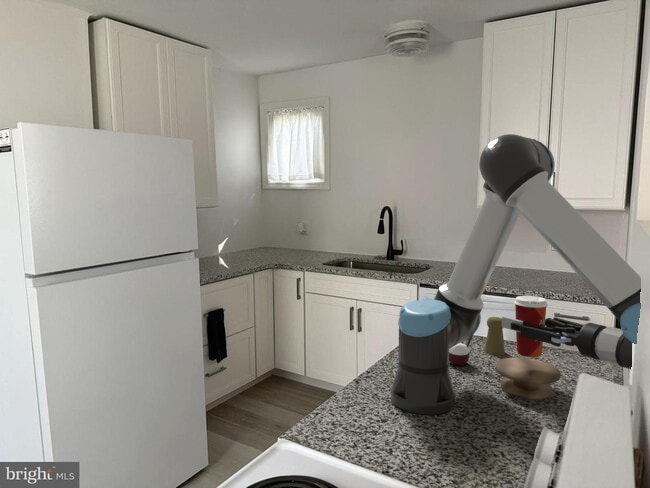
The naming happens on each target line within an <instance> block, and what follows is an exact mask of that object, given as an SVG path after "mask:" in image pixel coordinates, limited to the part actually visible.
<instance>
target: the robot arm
mask: <svg viewBox="0 0 650 488" xmlns="http://www.w3.org/2000/svg"><path fill="white" fill-rule="evenodd" d="M555 163H556V162H555V158H554V155H553V153H552V151H551V150H550V149H549V147H547V145H545V144H544V143H543V142H541V141H539V140H537V139H535V138H531V137H526V136H523V135H519V134H515V133H514V134H511V133H510V134H503V135H500V136H497V137H496V138H494V139H492V140H491V141H489V142H488V143H487V144H486V145H485V147H484V148H483V150H482V152H481V153H480V157H479V173H480V175H481V177H482V179H483V181H484V183H483V186H482V189H483V192H484V195H485V198H484V200H483V202H482V204H481V207H480V209H479V211H478V213H477V216H476V217H475V221H474V223H473V225H472V227H471V230H470V232H469V234H468V236H467V238H466V241H465V243H464V246H463V248H462V250H461V253H460V254H459V257H458V259H457V261H456V263H455V265H454V268H453V271H452V273H451V275H450V277H449V279H448V281H447V283H443V284H440V286H439V287H438V289H437V291H436V294H435V296H434V299H432V298H430V299H429V298H422V299H419V300H417V299H414V300H411V301H409V302H406V303H405V304H404V305H402V306H401V307H400V311H399V316H398V317H399V318H398V323H397V324H398V367H397V370H396V374H395V376H394V379H393V382H392V385H391V386H390V387H391V388H390V400H391V402H392V404H393V405H394V406H395V407H397V408H398V409H400V410H403V411H405V412H409V413H412V414H418V415H430V416H432V415H440V414H445V413H448V412H450V411H452V410H453V409H454V408H455V406H456V391H455V389H454V386H453V385H454V384H453V383H452V378H451V376H450V371H449V363H450V362H449V349H450V348H452V347H453V346H455V345H457V344H459V343H462V342H465V341H468V339H469V338H470V337H471V336H472V335H473V336H474V335H475V333H476V332H477V331H478V330H479V327H480V325H481V320H482V317H481V312H482V309H483V308H484V302H483V299H482V295H483V293H484V291H485V290H486V287H487V284H488V282H489V281H490V278H491V276H492V274H493V272H494V270H495V268H496V265H497V263H498V261H499V260H500V257H501V255H502V254H503V251H504V249H505V247H506V245H507V242H508V240H509V239H510V237H511V235H512V232H513V230H514V228H515V226H516V224H517V222H518V219H519V217H520V215H521V214H522V216H524V218H525V219H526V220H527V221H528V222H529V224H530V225H532V227H533V228H534V229H535V230H536V231H537V232H538V233H539V235H541V237H543V239H544V240H545V241H546V242H547V243H548V244H549V245H550V247H552V248H553V249H554V251H555V252H556V253H557V255H559V256H560V257H561V259H563V261H564V262H565V263H566V264H567V265H568V266H569V267H570V268H571V269H572V271H573V272H574V273H575V274H576V275H577V276H578V277H579V278H580V279H581V280H582V282H584V284H585V285H586V286H587V287H588V288H589V289H590V291H592V292H593V294H594V295H596V296H597V298H598V299H599V300H600V302H602V303H603V305H604V306H605V307H606V308H607V309H608V310H609V311H610V312H611V314H612V315H613V316H614V317H615V319H617V320H618V322H619V325H620V328H617V327H611V326H606V325H602V324H598V323H593V322H588V323H585V324H583V323H578V322H575V321H571V320H567V319H564V318H560V317H557V316H556V317H553V318H551V317H546V318H545V326H538V325H532V324H526V320H523V321H520V320H517V319H516V318H512V317H508V316H506V315H505V316H504V315H503V316H501V318H502V327H503V329H507V330H510V331H514V332H516V331H517V332H520V336H522V337H526V338H530V339H534V340H537V341H541V342H543V343H545V344H549V345H552V346H554V347H557V348H559V347H561V346H562V345H561V344H564V345H565V346H567V347H568V346H569V347H576V348H577V350H578V353H579V354H580V355H581V356H583V357H587V358H589V359H593V360H596V361H601V362H604V363H608V364H612V365H613V366H614V368H620V367H621V368H625V369H628V370H631V367H632V343H634V344H637V333H638V325H639V318H640V309H641V303H640V292H641V277H642V276H641V275H639V274H638V273H637V271H636V270H635V269H633V267H632V266H631V265H630V264H629V263H628V262H627V261H626V260H625V259H624V258H623V257H622V256H621V255H620V254H619V253H618V252H617V251H616V249H614V247H612V246H611V245H610V244H609V242H608V241H606V240H605V238H604V237H602V236H601V234H600V233H599V232H598V231H597V230H596V229H595V228H594V227H593V226H592V225H591V224H590V223H589V222H588V221H587V220H586V219H585V218H584V217H583V216H582V215H581V214H580V213H579V212H578V210H576V208H575V207H573V205H572V204H571V203H570V202H569V201H568V200H567V199H566V198H565V197H564V196H563V195H562V194H561V193H560V192H559V191H558V190H557V189H556V188H555V187H554V186H553V185H552V183H550V180H551V179H552V177H553V175H554V172H555V167H556V166H555V165H556V164H555Z"/></svg>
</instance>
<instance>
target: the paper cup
mask: <svg viewBox="0 0 650 488" xmlns="http://www.w3.org/2000/svg"><path fill="white" fill-rule="evenodd" d="M513 304H514V305H515V306H514V307H515V319H517V320H520V321H523V320H526V324H532V325H538V326H545V319H546V314H547V307H548V306H549V304H548V303H547V299H546V298H544V297H540V296H536V295H535V296H534V295H519V296H518V295H517V296H516V297H515V300H514V301H513ZM545 327H546V326H545ZM515 336H516V339H515V340H516V353H517V354H518V355H519V356H522V357H525V358H538V357H541V356H542V353H543V343H544V342H541V341H537V340H534V339H530V338H526V337H522V336H520V332H517V331H515Z"/></svg>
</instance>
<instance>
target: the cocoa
mask: <svg viewBox="0 0 650 488" xmlns="http://www.w3.org/2000/svg"><path fill="white" fill-rule="evenodd" d="M473 337H474V334H473V335H472V336H471V337H470V338H469V339H467V342H466V344H465V343H462V342H460V343H459V344H457V345H455V346H453V347H452V348H450V349H449V363H450V364H451V365H454V366H457V367H463V366H465V365H467V363H468V362H469V359H470V351H471V348H470V344H471V341H472V339H473Z"/></svg>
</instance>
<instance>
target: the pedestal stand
mask: <svg viewBox="0 0 650 488" xmlns="http://www.w3.org/2000/svg"><path fill="white" fill-rule="evenodd" d="M494 367H495V368H494V369H495V371H496V372H497V374H499V375H500V376H502V377H503V378H502V379H501V381H500V388H501V389H502V391H504V392H505V393H507V394H509V395H511V396H513V397H517V398H520V399H525V400H533V401H534V400H535V401H541V400H547V399H549V398H551V397H553V391H554V389H553V387H552V386H551V385H550V384H554V383H557V382H559V381H560V380H561V375H562V374H561V370H560V369H558V368H557V367H556V366H554V365H553V364H550V363H548V362H545V361H542V360H538V359H533V358H529V357H506V358H501V359H498V360H497V361H496V362H495V366H494Z"/></svg>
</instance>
